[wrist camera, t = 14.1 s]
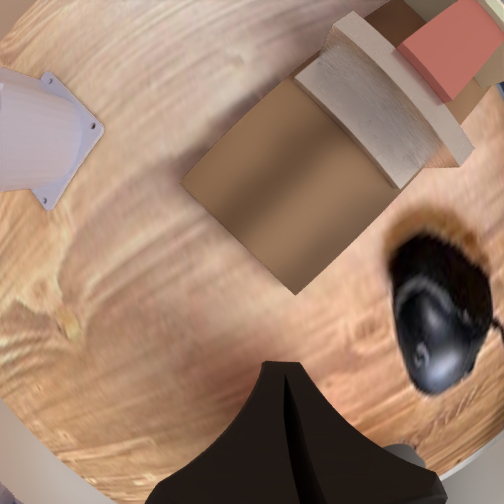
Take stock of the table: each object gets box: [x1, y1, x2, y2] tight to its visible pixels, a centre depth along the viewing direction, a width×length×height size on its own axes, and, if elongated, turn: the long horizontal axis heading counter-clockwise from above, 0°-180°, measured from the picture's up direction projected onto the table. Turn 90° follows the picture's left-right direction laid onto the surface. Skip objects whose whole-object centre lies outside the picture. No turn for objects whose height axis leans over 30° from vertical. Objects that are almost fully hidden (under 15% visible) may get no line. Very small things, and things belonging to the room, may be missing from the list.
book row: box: [403, 0, 504, 88], centre depth 10 cm, size 9×5×7 cm, turn 45°
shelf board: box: [179, 0, 492, 296], centre depth 15 cm, size 10×28×1 cm, turn 135°
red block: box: [396, 0, 504, 103], centre depth 11 cm, size 4×9×6 cm, turn 136°
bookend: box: [293, 11, 475, 190], centre depth 13 cm, size 9×4×5 cm, turn 46°
